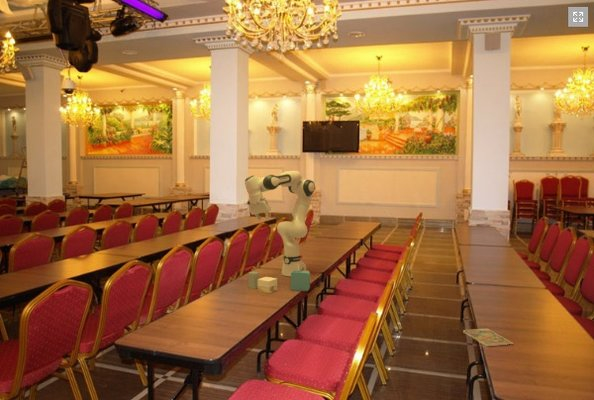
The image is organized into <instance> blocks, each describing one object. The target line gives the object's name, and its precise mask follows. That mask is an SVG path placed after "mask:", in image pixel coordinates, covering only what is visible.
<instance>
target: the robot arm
mask: <svg viewBox="0 0 594 400" xmlns="http://www.w3.org/2000/svg"><path fill="white" fill-rule="evenodd" d="M244 185H245V189H246V191H247V194H248V198H249V199H248V201H247V202H246V204H247V205H248V209H249V212H250V214H251V215H254V216H255V218H257V221H260V220H262V217H261V216H260V215H259V214H262V213H263V214H265V216H264V217H265V219H266V220H267V219H270V218H269V217H270V216H269V214H270V213H269V212H270V211H272V207H271V205H270V202H269V201H268V199H266V198H265V197H264V196H263V193H264V192H269V191H273V190H276V189H277V188H278V187H279V186H280V187H283V188H285V187H286V188H288V191H289V192H290V193H291V194H296V195H298V196H297V199H296V201H295V202H294V205H293V207H292V210H291V216H292V218H293V220H292V221H288V220H286V221H280V222H279V223H278V224H277V227H276V229H277V231H276V232H277V233H278V234H279V236H280V237H281V239H282V242H283V248H284V250H283V252H284V253H283V261H282V268H281V270H280V273H281V275H282V276H285V277H291V273H292V272H293V271H308V272H310V270H307V266H306V264H305V263H304V261H302V260H301V259H303V255H301V254H300V244H299V243H298V242H297V240H296V238H297V239H300V238H305V237H306V235H307V234H308V227H307V225H306V216H307V213H308V212H309V209H310V207H311V202H312V196H313V194H314V192H315V190H316V186H315V182H314V180H311V179H304V178H303V176H302V174H301V172H300V171H298V170H286V171H283V172H282V173H279V175H274V174H269V175H266V176H264V177H258V176H256V175H250V176H248V177H246V178H245V180H244Z"/></svg>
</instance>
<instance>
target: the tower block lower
mask: <svg viewBox="0 0 594 400" xmlns="http://www.w3.org/2000/svg"><path fill="white" fill-rule="evenodd" d="M257 292H260V293H264V294H267V295H268V294H272V293H274V292H278V284H277V285H275V286H272V287H269V288H268V287H263V286H258V288H257Z"/></svg>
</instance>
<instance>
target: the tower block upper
mask: <svg viewBox="0 0 594 400" xmlns="http://www.w3.org/2000/svg"><path fill="white" fill-rule="evenodd" d="M275 285H277V286H278V278H277V277H271V276H264V277H259V279H258V286H263V287H268V288H269V287H272V286H275Z"/></svg>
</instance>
